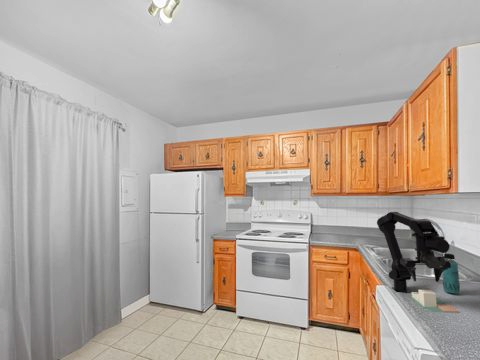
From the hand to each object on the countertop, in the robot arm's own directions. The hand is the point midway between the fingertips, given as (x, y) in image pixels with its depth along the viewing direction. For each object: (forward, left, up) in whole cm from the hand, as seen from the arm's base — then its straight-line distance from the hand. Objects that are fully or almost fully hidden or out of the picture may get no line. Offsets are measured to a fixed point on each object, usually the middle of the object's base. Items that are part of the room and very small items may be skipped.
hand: (425, 281), depth 111 cm
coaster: (+3, +6, -11) cm, 13 cm away
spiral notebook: (-5, 0, -11) cm, 12 cm away
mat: (-1, +3, -11) cm, 11 cm away
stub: (0, 0, -11) cm, 11 cm away
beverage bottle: (-14, +19, -11) cm, 26 cm away
